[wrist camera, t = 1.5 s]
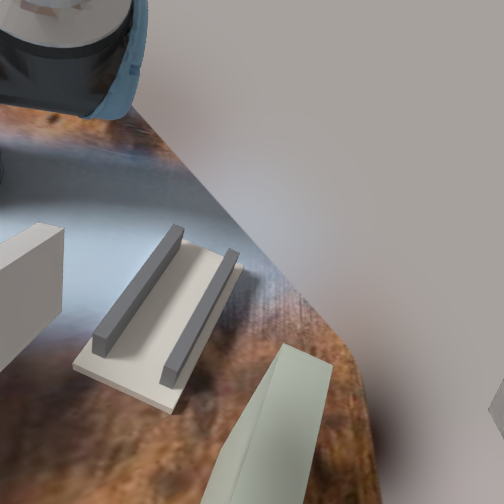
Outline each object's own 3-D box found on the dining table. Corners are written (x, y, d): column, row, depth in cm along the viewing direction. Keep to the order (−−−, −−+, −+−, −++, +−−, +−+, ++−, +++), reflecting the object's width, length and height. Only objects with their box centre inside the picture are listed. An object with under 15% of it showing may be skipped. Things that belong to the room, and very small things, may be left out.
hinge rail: (171, 414, 37) (178, 392, 34) (72, 369, 38) (72, 343, 35) (241, 271, 50) (251, 247, 47) (167, 238, 51) (173, 212, 48)
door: (213, 597, 30) (295, 540, 19) (171, 578, 30) (228, 509, 19) (259, 449, 37) (337, 346, 26) (226, 434, 37) (289, 324, 26)
